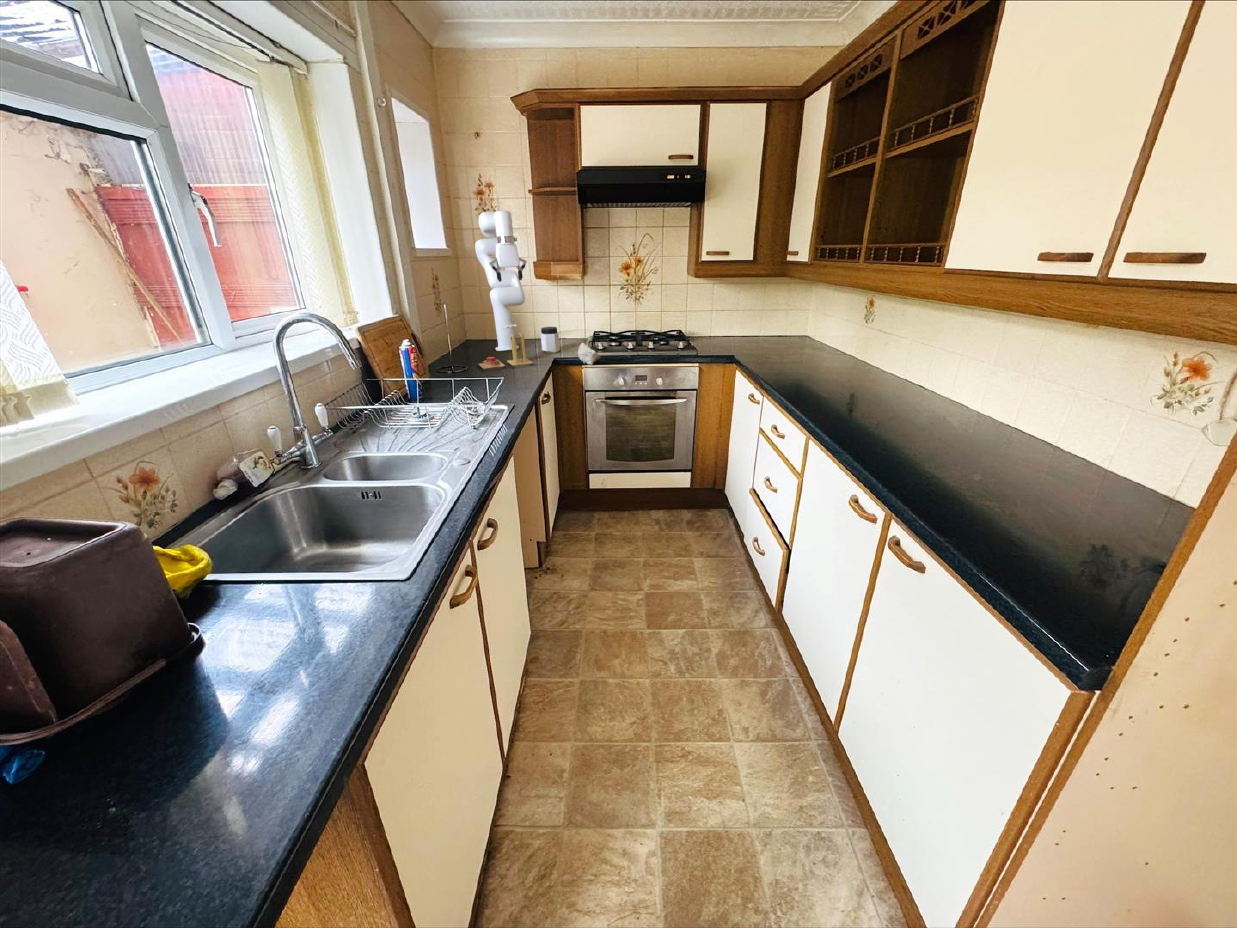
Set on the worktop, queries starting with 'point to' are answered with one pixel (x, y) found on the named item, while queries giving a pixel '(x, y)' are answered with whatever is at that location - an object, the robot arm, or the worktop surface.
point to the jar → (550, 339)
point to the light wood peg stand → (514, 351)
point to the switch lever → (514, 332)
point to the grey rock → (587, 354)
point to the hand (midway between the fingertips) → (510, 280)
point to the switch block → (491, 364)
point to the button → (490, 359)
